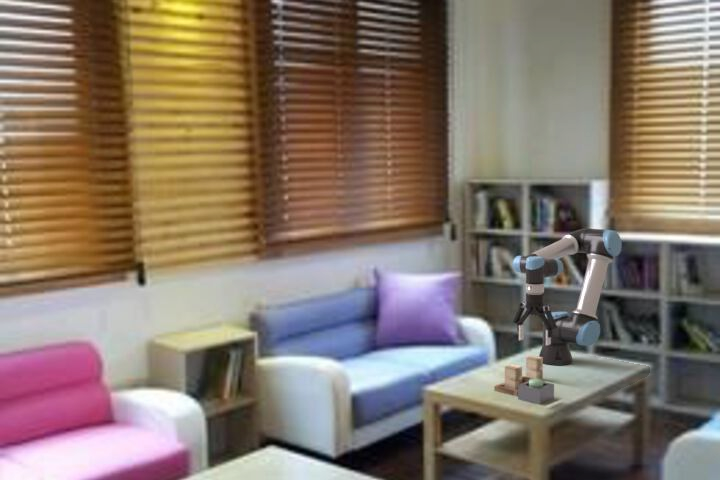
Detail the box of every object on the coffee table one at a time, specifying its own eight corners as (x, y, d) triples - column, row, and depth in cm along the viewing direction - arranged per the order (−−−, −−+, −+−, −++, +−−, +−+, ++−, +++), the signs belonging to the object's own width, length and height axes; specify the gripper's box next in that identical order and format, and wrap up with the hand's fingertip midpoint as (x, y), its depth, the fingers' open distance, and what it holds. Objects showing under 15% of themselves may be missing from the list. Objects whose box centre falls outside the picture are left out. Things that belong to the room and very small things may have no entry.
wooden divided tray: (522, 383, 352) (522, 375, 352) (544, 388, 345) (544, 380, 344) (494, 393, 338) (494, 386, 338) (517, 399, 331) (517, 391, 330)
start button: (533, 385, 330) (533, 377, 330) (546, 387, 326) (546, 380, 326) (526, 388, 326) (526, 380, 326) (538, 391, 322) (538, 383, 322)
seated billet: (511, 387, 342) (511, 364, 341) (521, 390, 338) (522, 366, 337) (504, 390, 338) (504, 366, 337) (514, 393, 335) (514, 368, 334)
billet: (532, 377, 360) (532, 355, 359) (542, 380, 356) (542, 357, 355) (526, 380, 356) (526, 357, 355) (536, 382, 353) (536, 359, 352)
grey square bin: (532, 396, 334) (532, 379, 333) (553, 401, 327) (554, 384, 326) (518, 402, 327) (518, 384, 326) (539, 407, 320) (540, 389, 319)
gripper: (505, 291, 358) (505, 339, 360) (555, 297, 341) (555, 348, 343) (515, 288, 363) (515, 336, 366) (565, 295, 346) (564, 345, 348)
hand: (534, 342), depth 354 cm, fingers open, 13 cm apart
